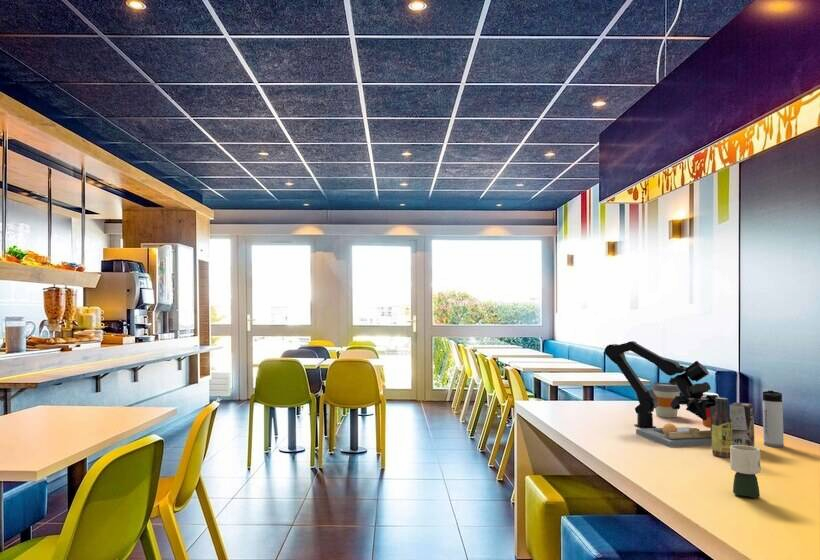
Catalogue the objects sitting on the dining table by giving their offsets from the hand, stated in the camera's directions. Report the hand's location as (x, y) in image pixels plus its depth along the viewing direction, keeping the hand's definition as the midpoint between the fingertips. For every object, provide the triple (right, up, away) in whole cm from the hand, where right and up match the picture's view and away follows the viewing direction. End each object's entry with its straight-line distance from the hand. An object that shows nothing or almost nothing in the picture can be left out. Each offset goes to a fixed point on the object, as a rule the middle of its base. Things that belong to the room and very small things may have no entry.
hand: (705, 419), depth 217 cm
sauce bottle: (-7, -7, -24) cm, 26 cm away
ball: (-16, -3, -4) cm, 17 cm away
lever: (-8, -5, -7) cm, 12 cm away
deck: (-10, -8, +1) cm, 13 cm away
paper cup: (+16, -9, +26) cm, 31 cm away
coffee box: (+6, -7, -14) cm, 17 cm away
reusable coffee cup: (+7, -10, +47) cm, 49 cm away
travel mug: (+21, -7, -9) cm, 24 cm away
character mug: (-24, -4, -66) cm, 70 cm away
